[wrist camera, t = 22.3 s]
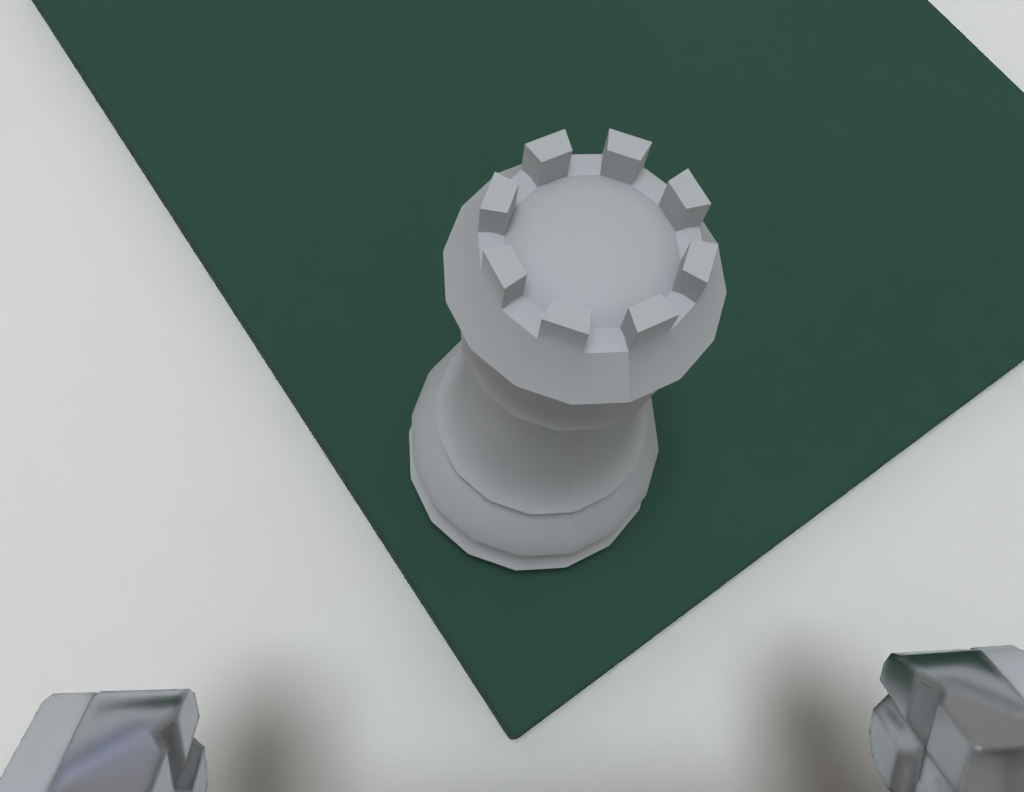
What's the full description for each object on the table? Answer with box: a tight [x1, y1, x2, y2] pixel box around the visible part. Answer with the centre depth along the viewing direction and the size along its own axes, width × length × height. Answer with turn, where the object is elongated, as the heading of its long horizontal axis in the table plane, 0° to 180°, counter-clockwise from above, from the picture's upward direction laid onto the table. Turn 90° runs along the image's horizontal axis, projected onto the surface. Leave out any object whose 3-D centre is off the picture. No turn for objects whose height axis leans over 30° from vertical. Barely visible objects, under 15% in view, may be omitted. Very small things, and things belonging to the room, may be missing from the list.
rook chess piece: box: [409, 128, 727, 571], centre depth 13 cm, size 4×4×8 cm
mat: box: [32, 0, 1024, 740], centre depth 20 cm, size 20×18×1 cm
